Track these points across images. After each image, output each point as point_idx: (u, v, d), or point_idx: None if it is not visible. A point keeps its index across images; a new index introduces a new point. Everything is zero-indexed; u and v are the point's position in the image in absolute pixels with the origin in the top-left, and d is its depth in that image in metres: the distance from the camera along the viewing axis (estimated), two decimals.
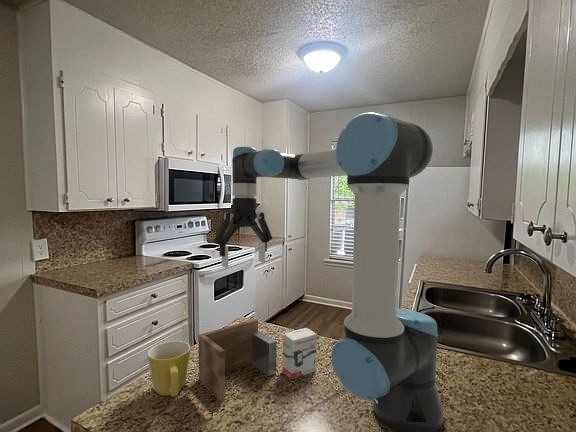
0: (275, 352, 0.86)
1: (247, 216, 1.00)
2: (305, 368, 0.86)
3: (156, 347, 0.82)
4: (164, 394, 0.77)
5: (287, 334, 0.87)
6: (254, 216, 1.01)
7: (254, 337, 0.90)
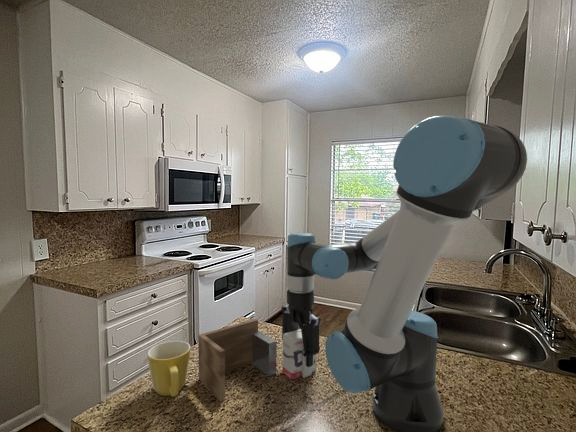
0: (275, 352, 0.86)
1: (298, 308, 0.86)
2: None
3: (156, 347, 0.82)
4: (164, 394, 0.77)
5: (287, 334, 0.87)
6: (304, 315, 0.84)
7: (254, 337, 0.90)
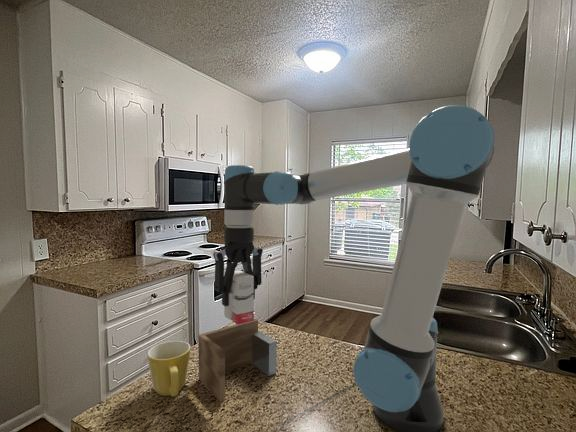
0: (275, 352, 0.86)
1: (243, 245, 0.81)
2: None
3: (156, 347, 0.82)
4: (164, 394, 0.77)
5: (239, 276, 0.79)
6: (250, 249, 0.83)
7: (254, 337, 0.90)
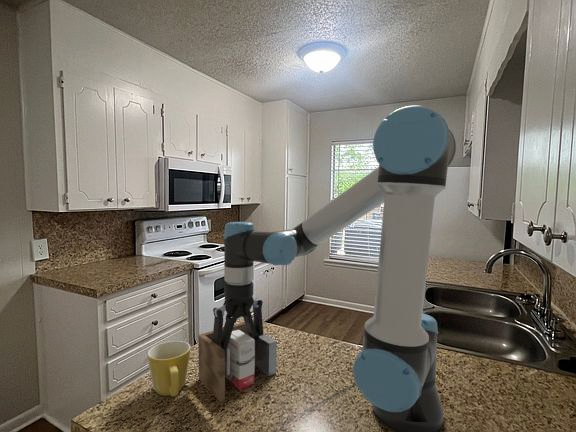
0: (275, 352, 0.86)
1: (242, 301, 0.82)
2: None
3: (156, 347, 0.82)
4: (164, 394, 0.77)
5: (241, 341, 0.80)
6: (250, 303, 0.84)
7: None
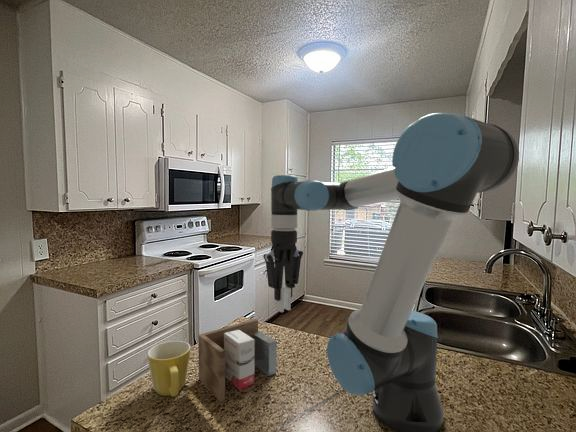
0: (275, 352, 0.86)
1: (288, 245, 0.91)
2: None
3: (156, 347, 0.82)
4: (164, 394, 0.77)
5: (241, 341, 0.80)
6: (294, 249, 0.93)
7: (254, 337, 0.90)
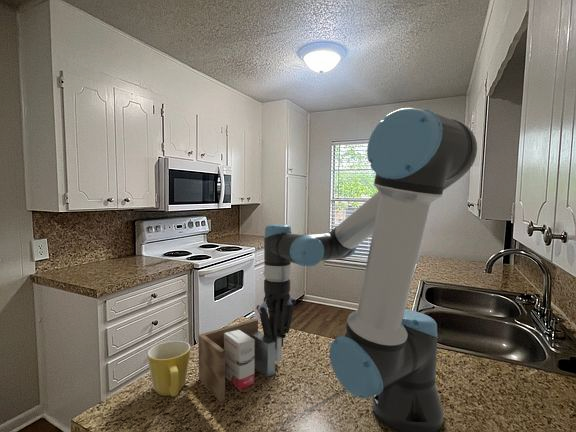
0: (274, 353, 0.86)
1: None
2: None
3: (156, 347, 0.82)
4: (164, 394, 0.77)
5: (241, 341, 0.80)
6: (287, 298, 0.92)
7: (253, 337, 0.90)
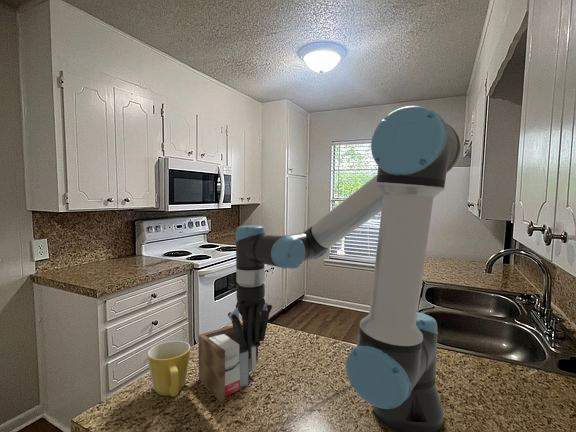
0: (247, 363, 0.80)
1: None
2: None
3: (156, 347, 0.82)
4: (164, 394, 0.77)
5: (225, 347, 0.77)
6: (261, 303, 0.86)
7: None
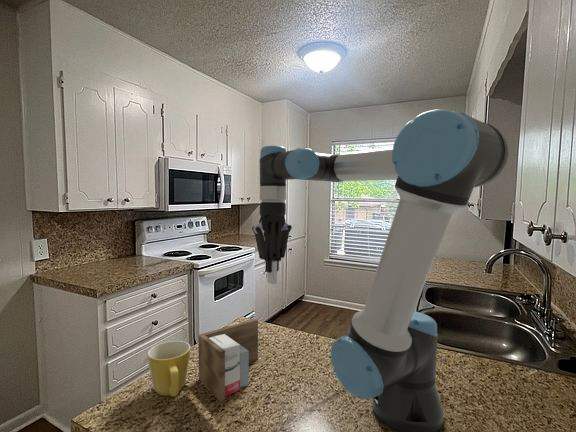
0: (247, 362, 0.81)
1: (277, 216, 0.91)
2: None
3: (156, 347, 0.82)
4: (164, 394, 0.77)
5: (225, 347, 0.77)
6: (282, 222, 0.92)
7: None
